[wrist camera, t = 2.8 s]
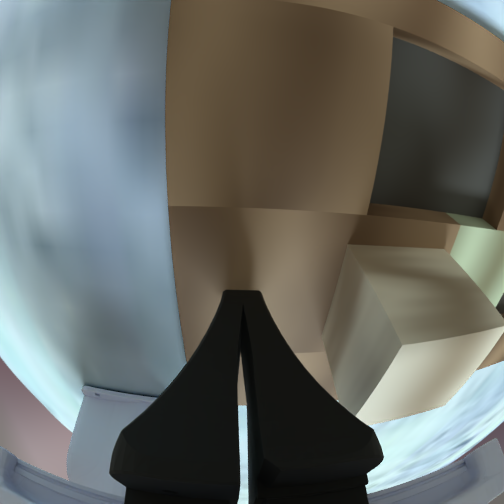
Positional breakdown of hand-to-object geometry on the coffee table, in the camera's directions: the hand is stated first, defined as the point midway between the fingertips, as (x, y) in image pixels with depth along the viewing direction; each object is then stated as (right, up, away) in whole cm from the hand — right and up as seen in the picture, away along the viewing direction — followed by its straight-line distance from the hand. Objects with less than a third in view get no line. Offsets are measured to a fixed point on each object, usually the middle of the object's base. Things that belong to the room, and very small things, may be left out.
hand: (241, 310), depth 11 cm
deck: (+11, +2, +2) cm, 12 cm away
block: (+6, 0, +1) cm, 6 cm away
